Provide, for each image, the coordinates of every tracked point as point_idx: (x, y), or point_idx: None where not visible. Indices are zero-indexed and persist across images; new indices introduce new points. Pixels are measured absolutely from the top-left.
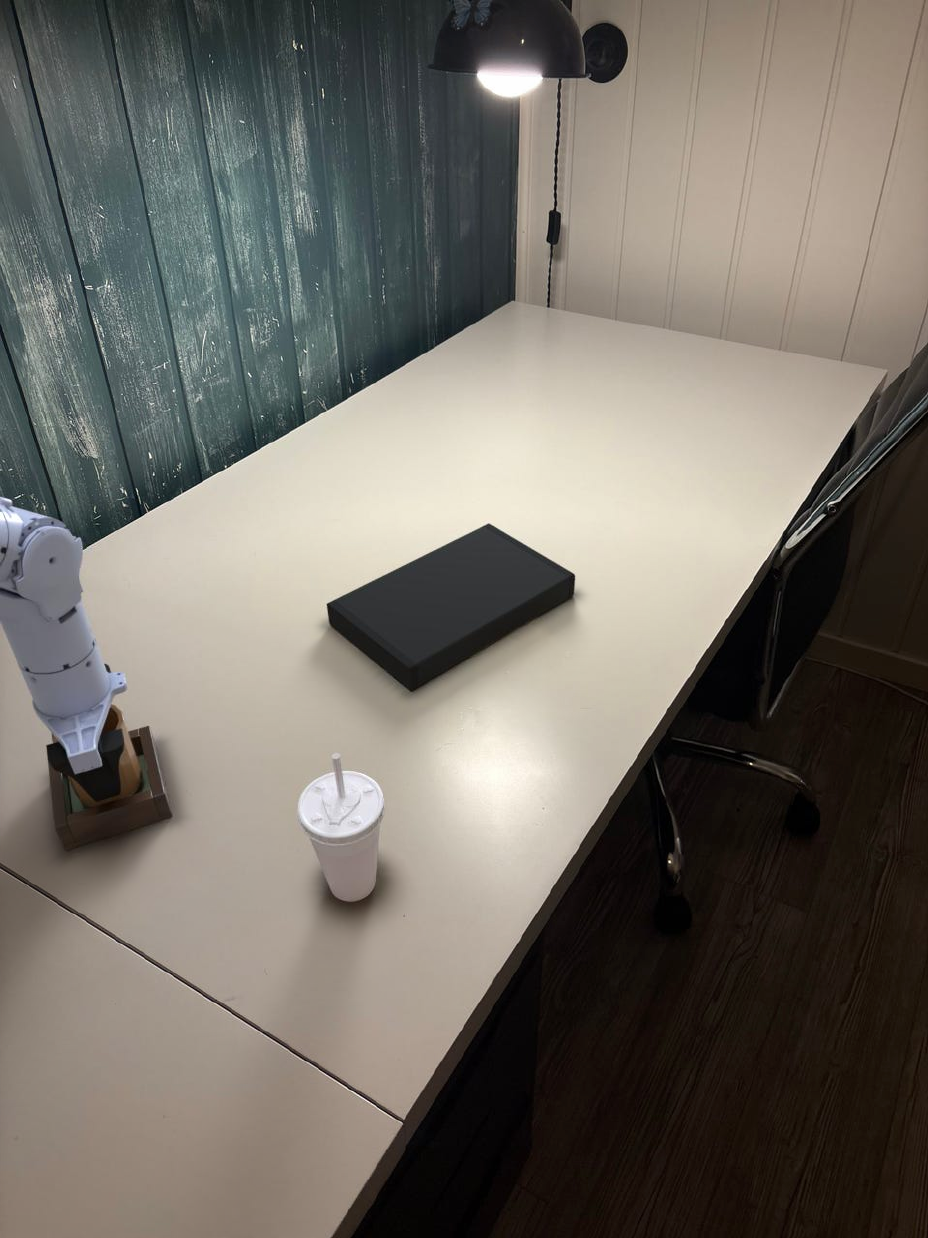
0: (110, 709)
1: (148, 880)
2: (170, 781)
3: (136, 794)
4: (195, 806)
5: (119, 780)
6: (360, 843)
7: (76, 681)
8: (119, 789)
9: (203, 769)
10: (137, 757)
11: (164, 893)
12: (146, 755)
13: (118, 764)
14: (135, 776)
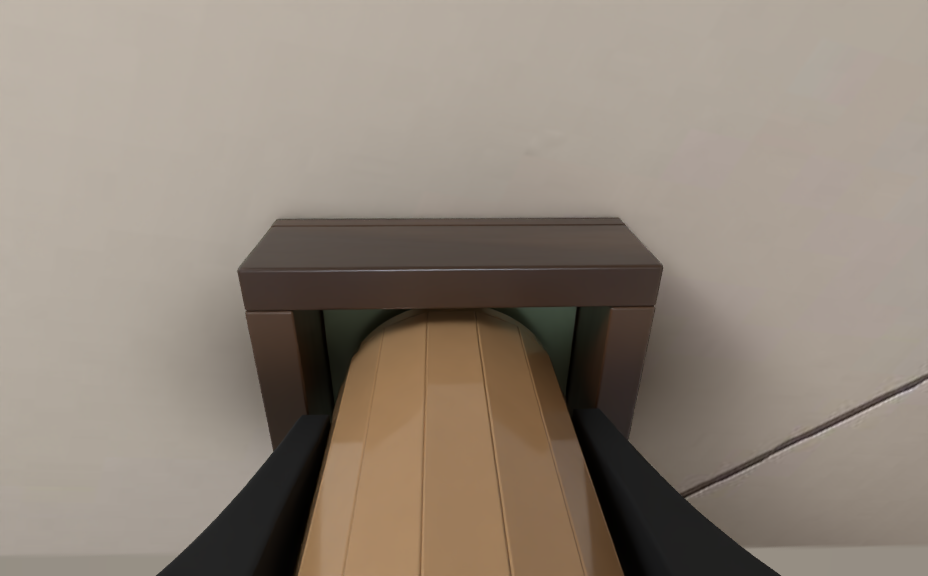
0: None
1: (798, 310)
2: (459, 199)
3: (607, 353)
4: (616, 138)
5: (638, 453)
6: None
7: None
8: (613, 424)
9: (450, 72)
10: (442, 342)
11: (869, 279)
12: (422, 301)
13: (743, 548)
14: (526, 352)
